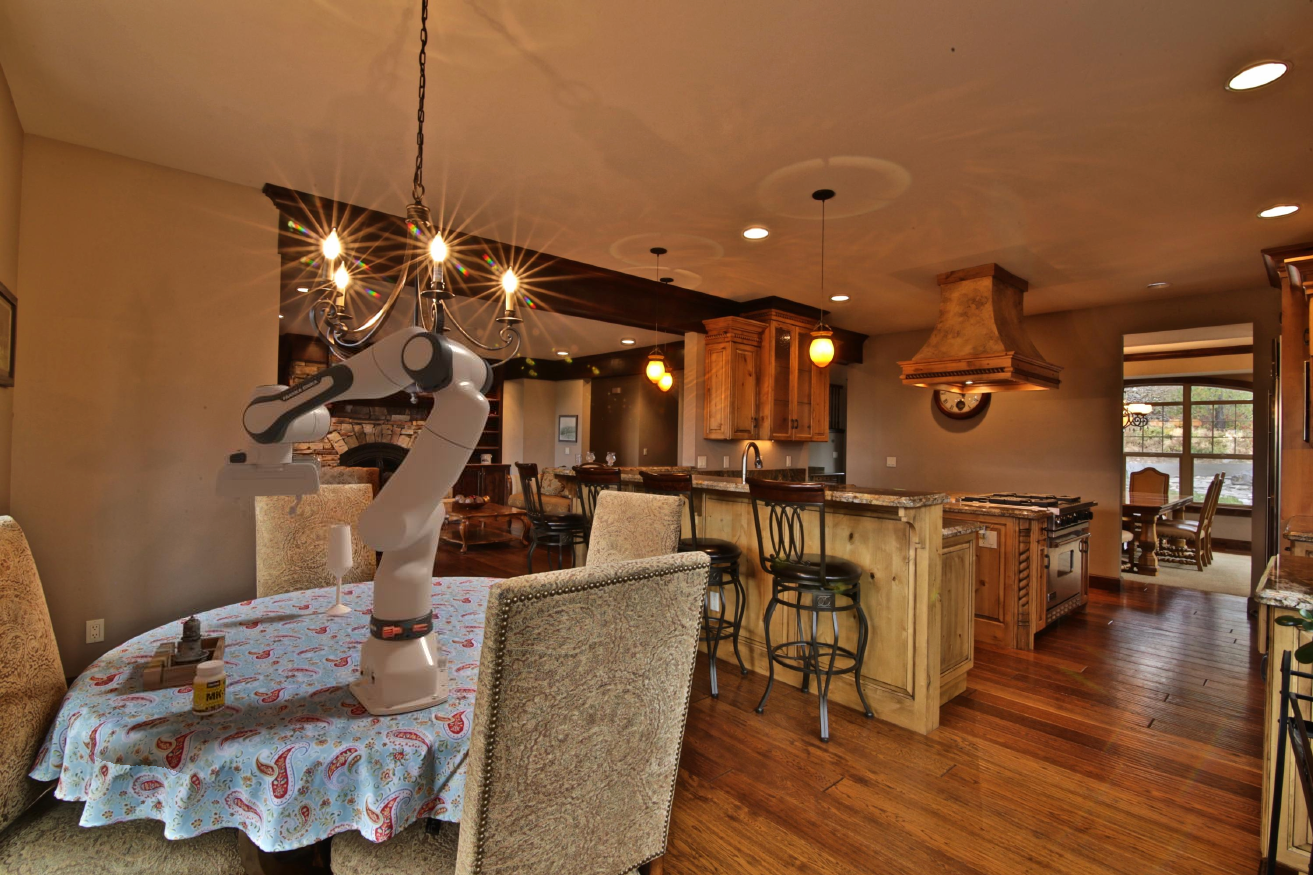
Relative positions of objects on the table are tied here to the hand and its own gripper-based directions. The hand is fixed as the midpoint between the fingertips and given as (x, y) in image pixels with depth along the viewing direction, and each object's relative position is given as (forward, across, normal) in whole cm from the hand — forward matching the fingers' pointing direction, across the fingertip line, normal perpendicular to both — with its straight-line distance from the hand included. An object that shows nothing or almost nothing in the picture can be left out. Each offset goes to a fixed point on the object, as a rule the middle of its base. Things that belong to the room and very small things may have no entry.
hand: (268, 515), depth 138 cm
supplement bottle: (+31, +8, +29) cm, 44 cm away
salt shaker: (+31, +13, +9) cm, 35 cm away
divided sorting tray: (+31, +14, +5) cm, 34 cm away
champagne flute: (+31, -17, -26) cm, 44 cm away
